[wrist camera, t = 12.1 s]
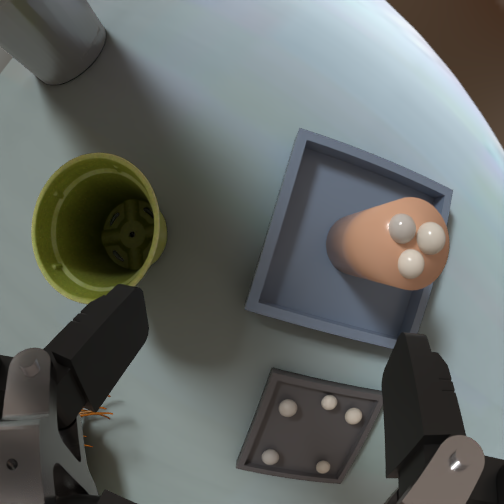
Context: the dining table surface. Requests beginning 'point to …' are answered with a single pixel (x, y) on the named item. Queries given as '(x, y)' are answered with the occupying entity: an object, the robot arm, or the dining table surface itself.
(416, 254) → the tan rounded pillar
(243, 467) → the parts tray
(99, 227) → the plant pot
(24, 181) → the dining table surface
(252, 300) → the shallow square tray
